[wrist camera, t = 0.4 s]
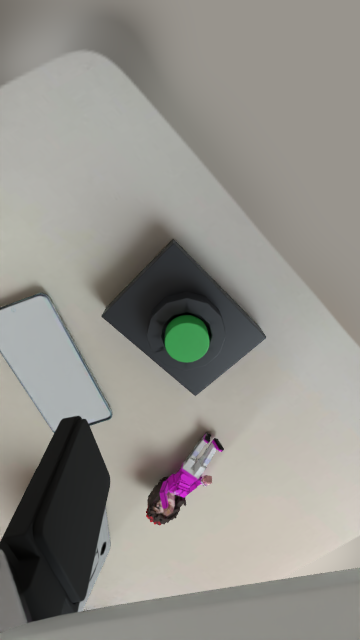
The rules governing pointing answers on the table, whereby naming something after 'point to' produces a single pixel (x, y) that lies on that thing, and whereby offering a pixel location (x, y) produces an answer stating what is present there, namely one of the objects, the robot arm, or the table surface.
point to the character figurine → (181, 483)
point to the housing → (183, 299)
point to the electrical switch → (98, 557)
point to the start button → (186, 338)
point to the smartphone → (49, 362)
